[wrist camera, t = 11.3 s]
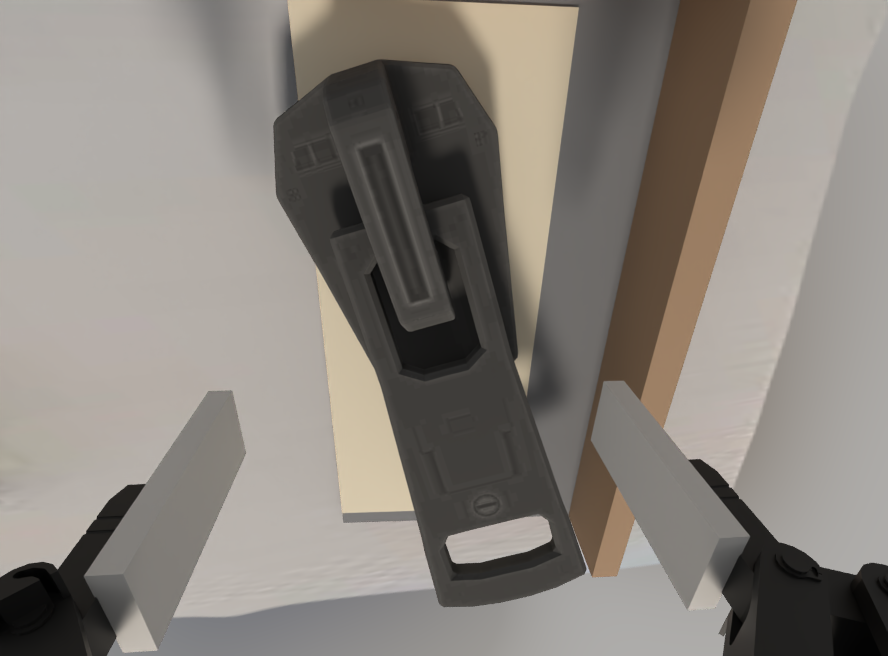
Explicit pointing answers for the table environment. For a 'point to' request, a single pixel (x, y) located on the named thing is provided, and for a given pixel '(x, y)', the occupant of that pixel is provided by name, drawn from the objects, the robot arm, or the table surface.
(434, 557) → the zipper pull
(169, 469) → the robot arm
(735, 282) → the table surface
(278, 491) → the table surface
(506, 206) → the tray
